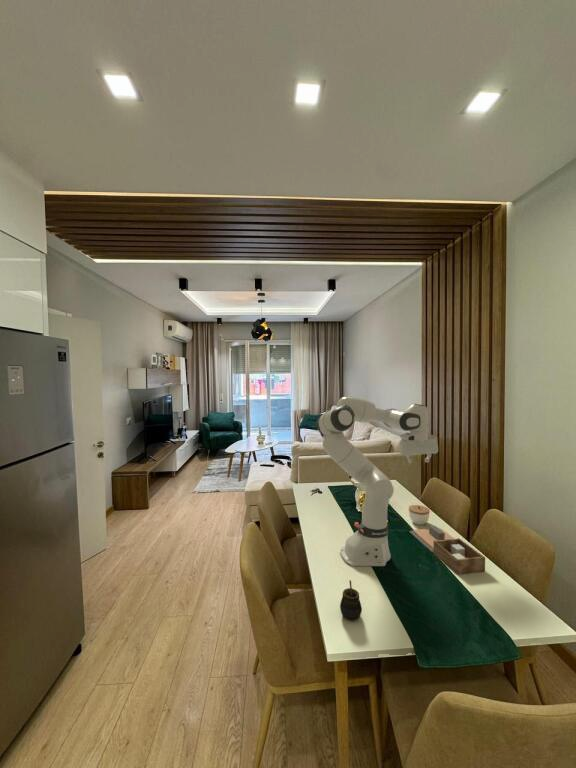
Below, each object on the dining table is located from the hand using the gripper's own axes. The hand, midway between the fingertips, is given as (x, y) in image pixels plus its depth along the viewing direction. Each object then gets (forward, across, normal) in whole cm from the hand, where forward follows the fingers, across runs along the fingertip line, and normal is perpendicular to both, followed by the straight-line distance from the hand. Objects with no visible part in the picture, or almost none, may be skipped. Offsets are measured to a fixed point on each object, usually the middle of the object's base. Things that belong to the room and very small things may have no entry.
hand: (418, 462), depth 168 cm
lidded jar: (+37, -8, -12) cm, 40 cm away
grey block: (+36, -6, +22) cm, 43 cm away
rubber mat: (+37, -6, +7) cm, 38 cm away
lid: (+37, -6, +7) cm, 38 cm away
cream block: (+36, -1, +29) cm, 47 cm away
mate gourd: (+37, +54, +48) cm, 81 cm away
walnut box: (+37, -3, +26) cm, 45 cm away
